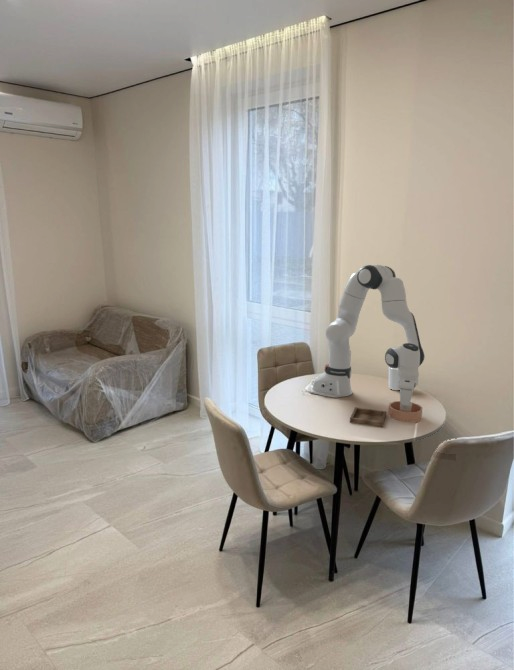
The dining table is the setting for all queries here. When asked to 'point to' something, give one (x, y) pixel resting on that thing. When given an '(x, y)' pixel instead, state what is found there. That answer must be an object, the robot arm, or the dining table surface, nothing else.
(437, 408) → the dining table surface
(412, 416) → the terracotta bowl
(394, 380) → the candle holder
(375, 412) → the walnut tray
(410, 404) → the off-white cube block
